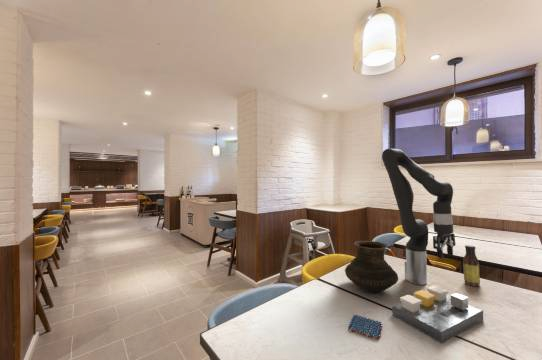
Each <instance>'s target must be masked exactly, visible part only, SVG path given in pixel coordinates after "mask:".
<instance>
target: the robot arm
mask: <svg viewBox="0 0 542 360" xmlns="http://www.w3.org/2000/svg"><path fill="white" fill-rule="evenodd" d="M381 160H382V163H383V165H384V167H385V170H386V172H387V175H388V177H389V181H390V184H391V187H392V191H393V195H394V197H395V201H396V205H397V208H398V212H399V216H400V223H401V228H402V231H403V232H404V234H405V236H406V237H408V238H409V240H408V241H407V242H406V244H405V253H406V254H405V256H406V257H405V259H406V260H405V261H404V279H405V280H407V282H409V283H412V284H414V285H427V283H428V278H427V277H428V276H427V275H428V271H427V270H428V269H427V267H428V266H427V264H428V263H427V247H428V245H429V227H428V225H427V223H426V222H425V221H424V220H423V219H418V218H417V219H416V217H415V215H414V210H413V205H414V191H413V187H412V185H411V183H410V181H409V180H408V179H407V177H406V176H405V175H404V174H403V172H402V171H401V169H400V168H399V166H400V167H401V168H403V169H404V170H405V171H406V172H407V174H408V175H409V176H410V177H411V178H412V179H413V180H414V181H416V182H418V183H419V184H420V185H422V186H423V188H424V189H425V190H426V191H427V192H428V194H431V195H432V196H434V197H436V200H435V201H434V202H433V203H432V209H433V217H432V218H433V219H432V221H433V231H434V233H436V235H433V236H432V245H433V247H432V248H433V250H436V257H437V258H438V259H443V258H444V247H446V255H447V256H454V247H455V246H456V237H455V233H454V222H453V216H452V202H453V196H454V188H453V185H452V184H451V183H450V182H447V181H438V180H436V179H435V176H434V174H433V173H431V172H430V171H428V170H426V169H425V168H423V167H422V166H420V165H419V164H418V163H416V162H415V161H414V160H413V159H411V158H410V157H409V156H408V155H407V154H406V153H405V152H404V151H402V149H399V148H386V149H384V150H383V152H382V155H381Z"/></svg>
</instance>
